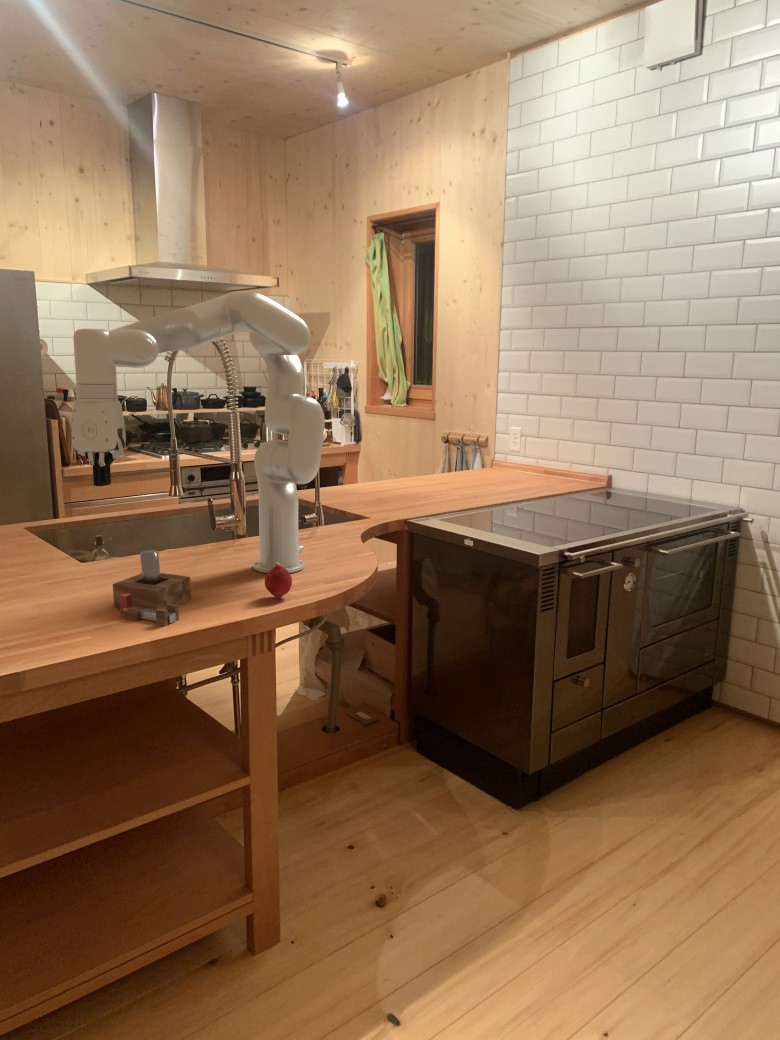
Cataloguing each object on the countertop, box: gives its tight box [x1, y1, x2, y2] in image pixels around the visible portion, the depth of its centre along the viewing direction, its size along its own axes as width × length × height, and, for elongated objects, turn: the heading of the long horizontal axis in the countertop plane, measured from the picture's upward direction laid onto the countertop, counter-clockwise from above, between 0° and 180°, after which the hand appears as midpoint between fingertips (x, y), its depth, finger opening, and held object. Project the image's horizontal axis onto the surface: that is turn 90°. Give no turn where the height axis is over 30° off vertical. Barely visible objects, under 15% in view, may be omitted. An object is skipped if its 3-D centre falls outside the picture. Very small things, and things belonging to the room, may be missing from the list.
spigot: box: [139, 549, 161, 585], centre depth 160 cm, size 4×4×10 cm
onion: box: [264, 562, 293, 599], centre depth 166 cm, size 6×6×8 cm
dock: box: [112, 572, 192, 627], centre depth 158 cm, size 16×16×5 cm
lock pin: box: [119, 593, 176, 624], centre depth 151 cm, size 2×12×4 cm, turn 69°
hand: (102, 485), depth 156 cm, fingers closed
